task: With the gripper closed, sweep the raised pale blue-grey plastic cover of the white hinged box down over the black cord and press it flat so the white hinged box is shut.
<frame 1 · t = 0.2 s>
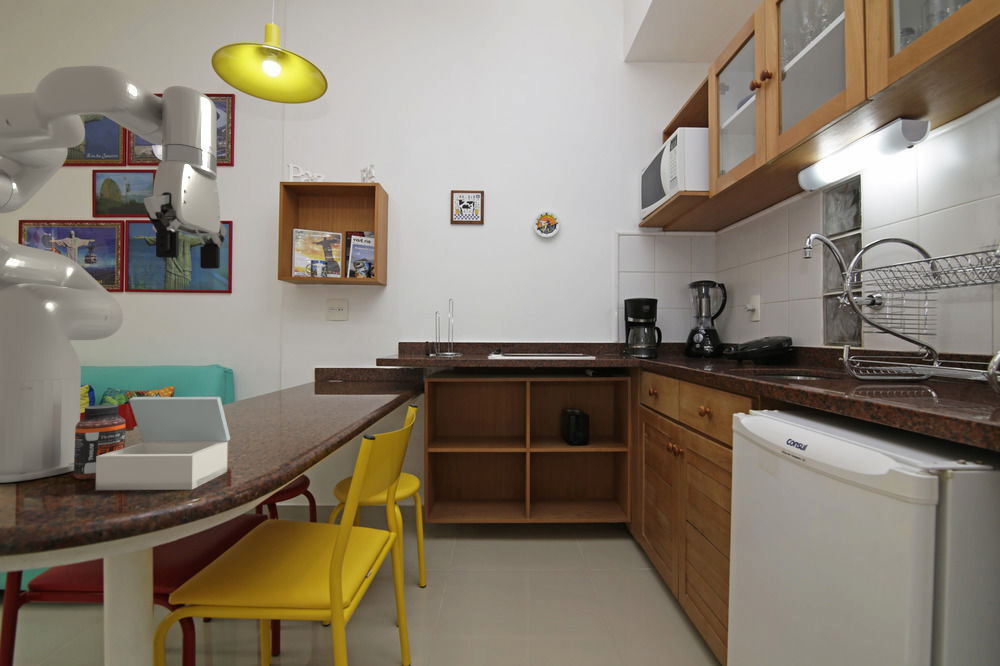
hand: (190, 263, 70), 36 cm above the bar counter, tool pointing down, fingers open, 9 cm apart
supplement bottle: (100, 476, 66), on the bar counter
white hinged box: (165, 480, 64), on the bar counter
cover: (182, 418, 67), point 9 cm above the bar counter, hinge at 70.0°
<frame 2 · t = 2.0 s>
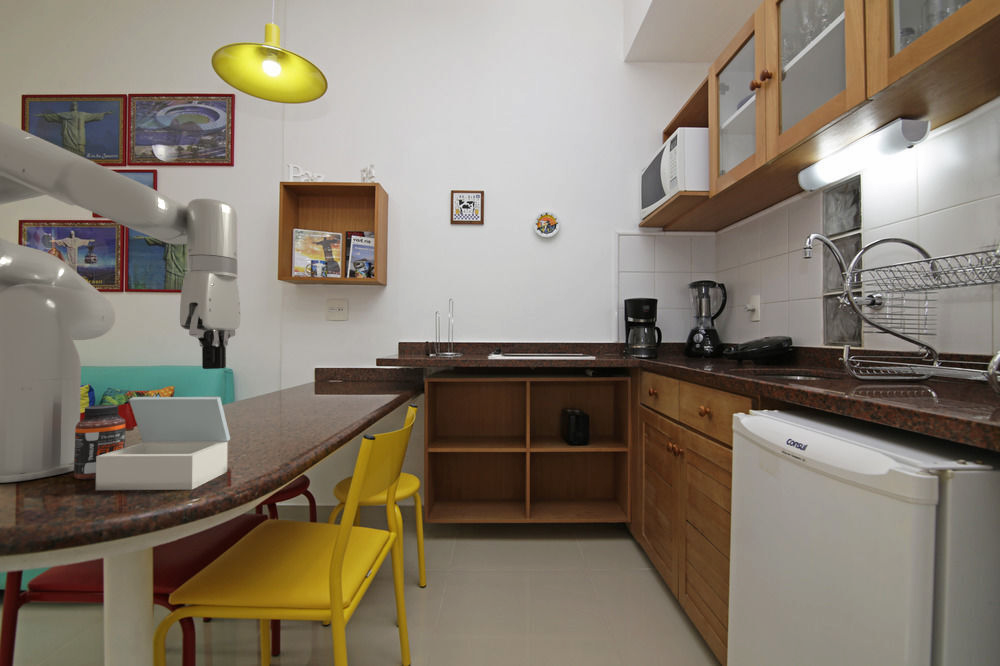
hand: (214, 368, 74), 17 cm above the bar counter, tool pointing down, fingers closed
nothing on the bar counter moved.
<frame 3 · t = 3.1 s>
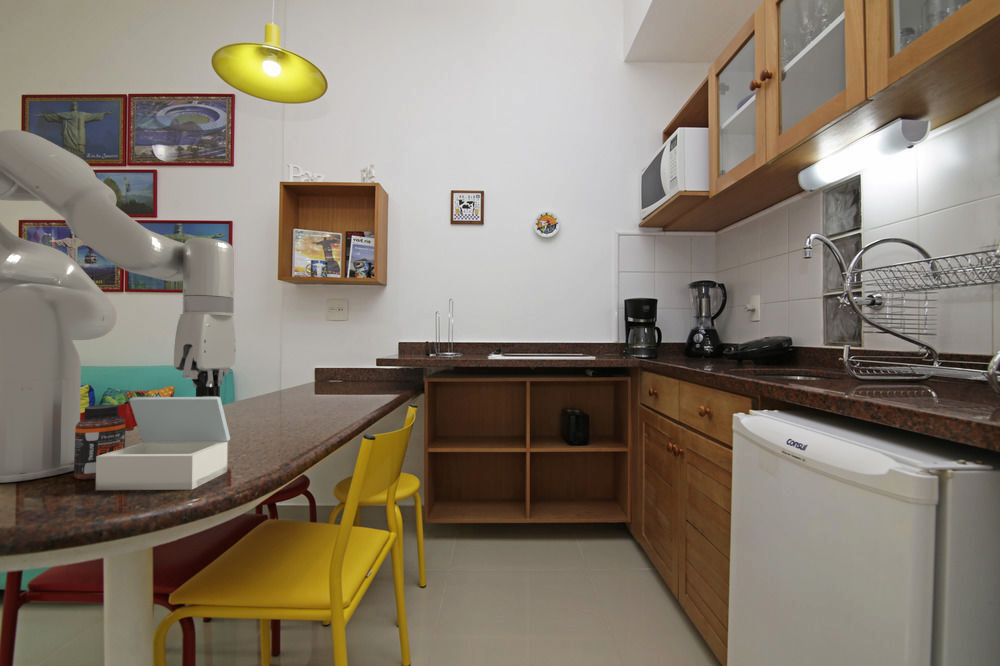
hand: (207, 408, 73), 10 cm above the bar counter, tool pointing down, fingers closed
nothing on the bar counter moved.
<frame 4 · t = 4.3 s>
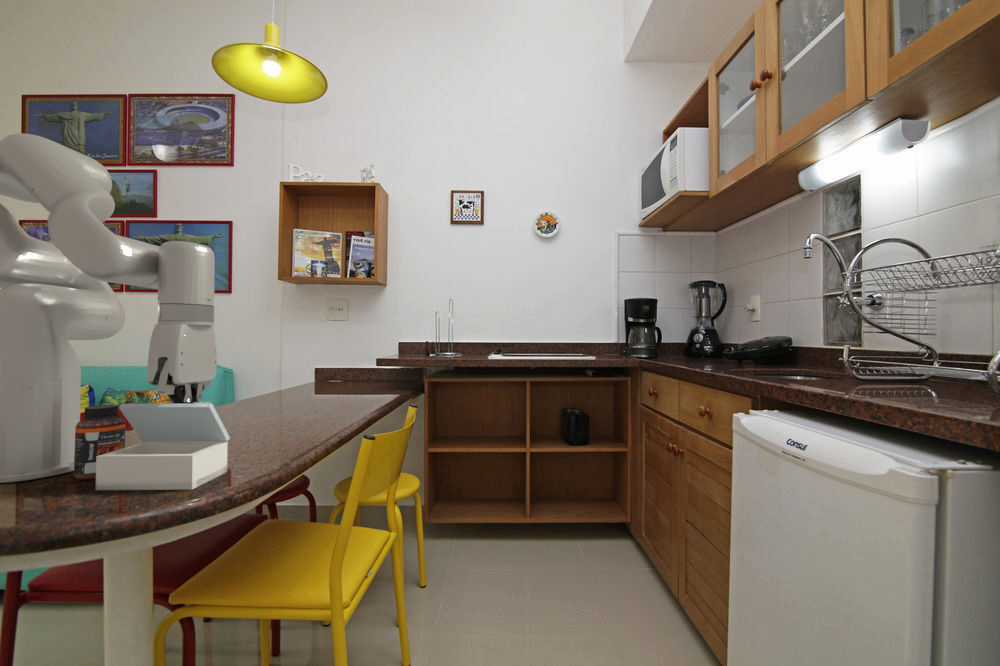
hand: (185, 425, 68), 8 cm above the bar counter, tool pointing down, fingers closed
cover: (177, 421, 66), point 9 cm above the bar counter, hinge at 55.1°, touching gripper
everything else where it was.
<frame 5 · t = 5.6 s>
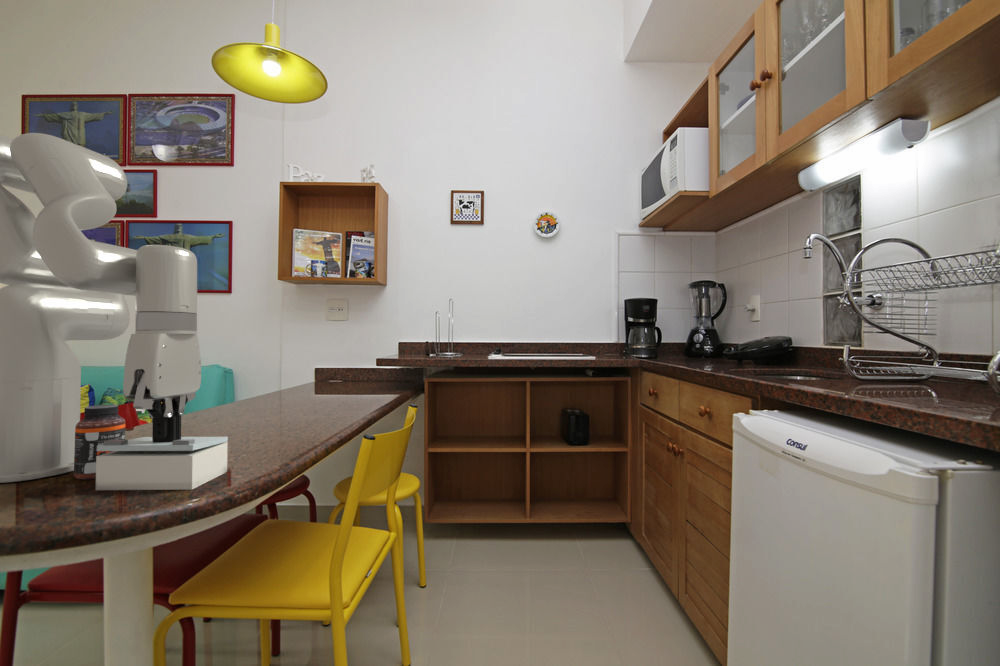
hand: (167, 441, 63), 6 cm above the bar counter, tool pointing down, fingers closed
cover: (166, 441, 64), point 6 cm above the bar counter, hinge at 4.7°, touching gripper
everything else where it was.
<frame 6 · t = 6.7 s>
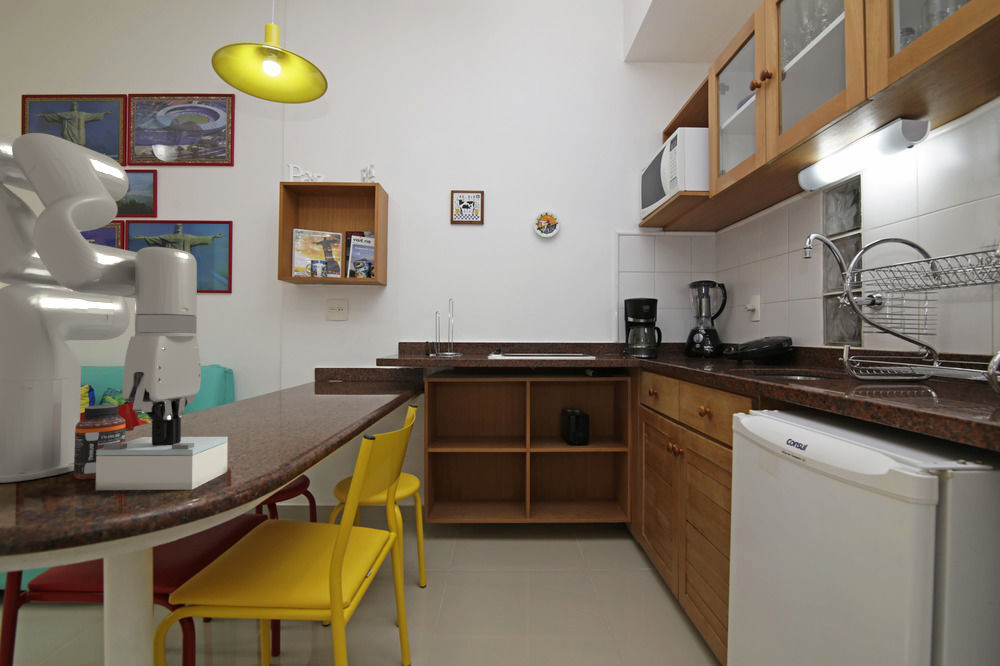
hand: (166, 444, 63), 6 cm above the bar counter, tool pointing down, fingers closed
cover: (166, 443, 64), point 6 cm above the bar counter, hinge at 0.2°, touching gripper
everything else where it was.
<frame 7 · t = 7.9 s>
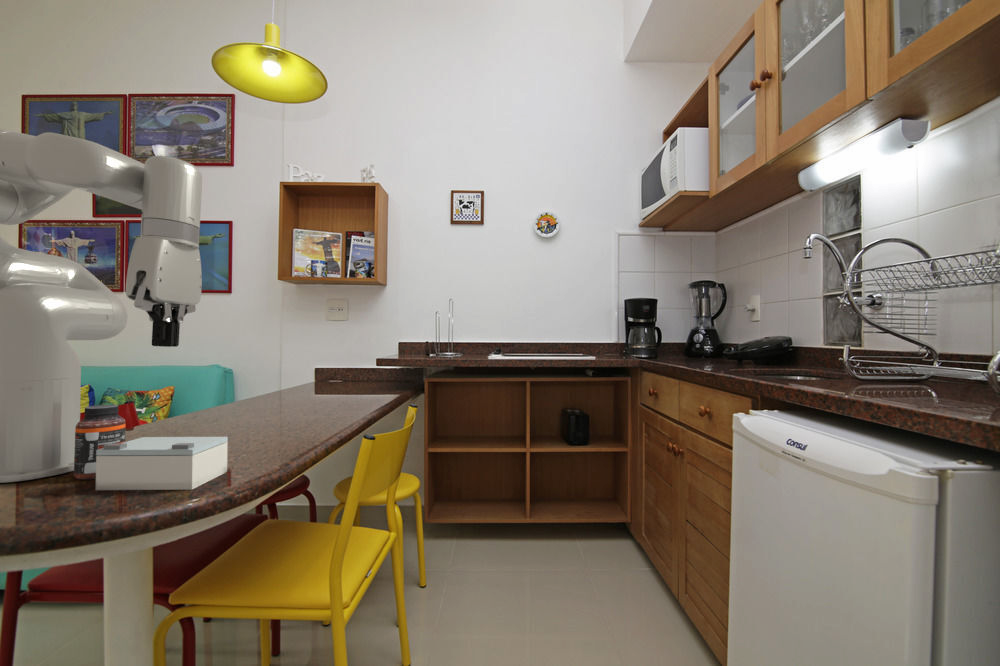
hand: (165, 346, 67), 21 cm above the bar counter, tool pointing down, fingers closed
cover: (166, 443, 64), point 6 cm above the bar counter, hinge at 0.2°
everything else where it was.
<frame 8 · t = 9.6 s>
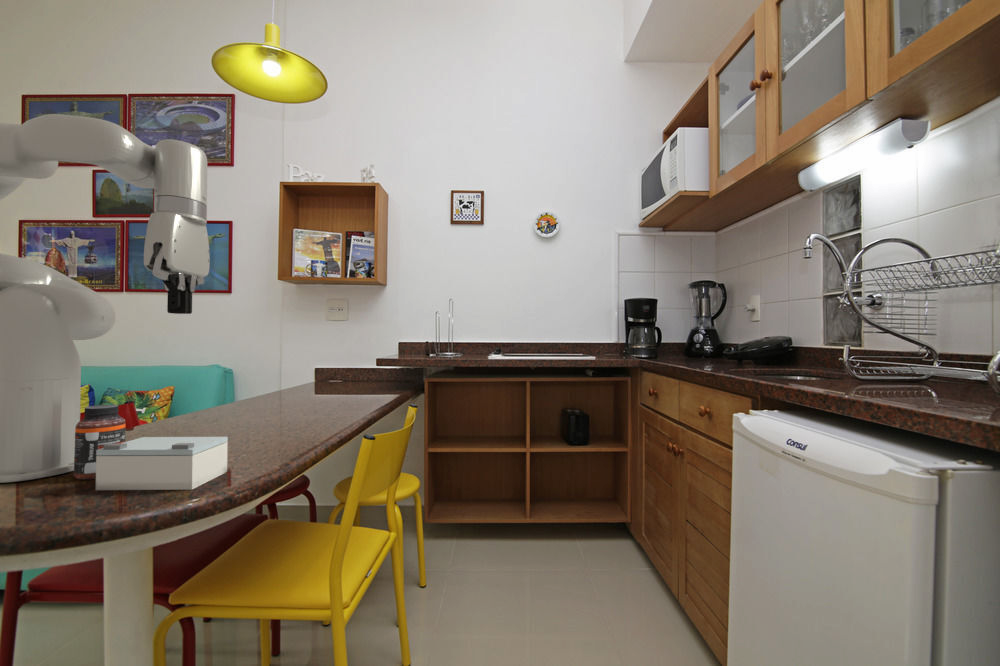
hand: (179, 313, 73), 27 cm above the bar counter, tool pointing down, fingers closed
nothing on the bar counter moved.
at the end: cover at +0° (first picture: +70°); supplement bottle moved 0.2 cm from its start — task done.
